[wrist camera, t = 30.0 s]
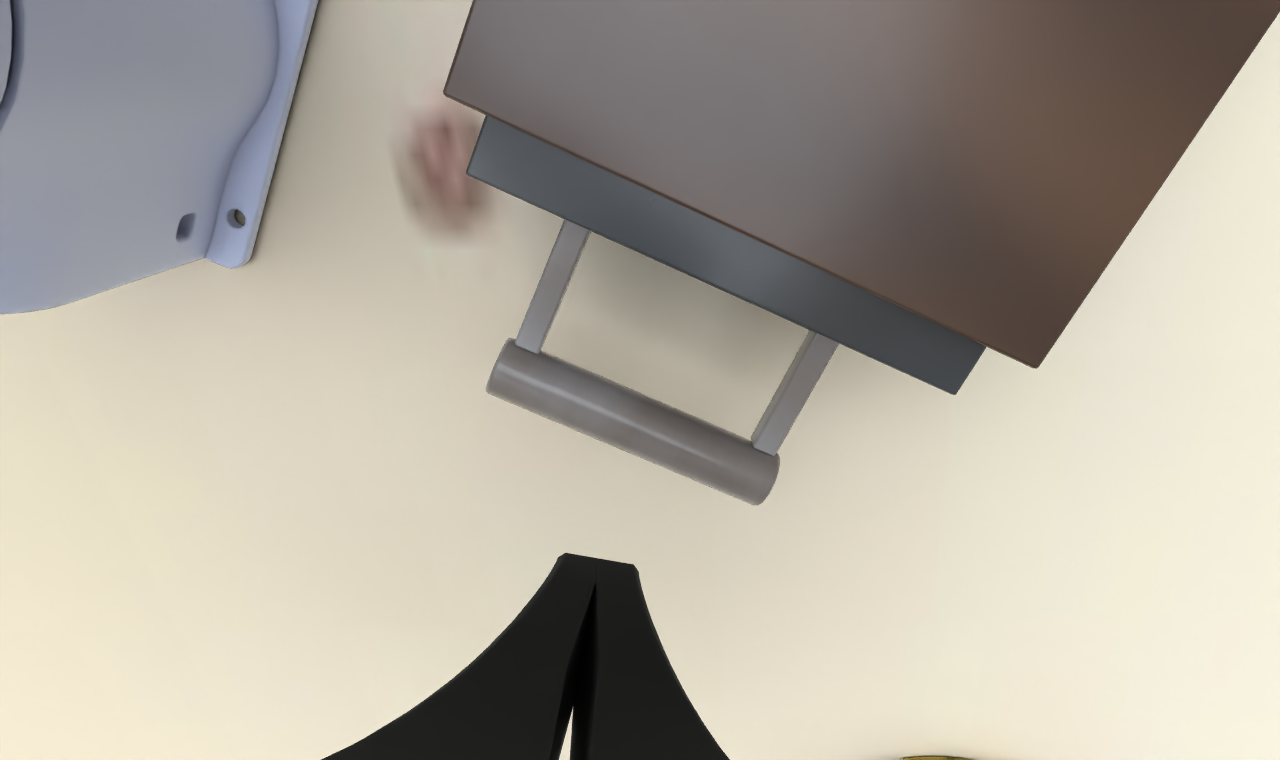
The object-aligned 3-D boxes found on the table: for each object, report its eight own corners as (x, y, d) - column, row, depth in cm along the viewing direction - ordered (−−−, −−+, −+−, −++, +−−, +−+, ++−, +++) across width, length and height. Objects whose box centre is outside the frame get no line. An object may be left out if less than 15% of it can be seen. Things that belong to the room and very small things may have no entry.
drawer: (787, 453, 23) (832, 588, 16) (467, 314, 22) (383, 402, 15) (1153, -183, 17) (1438, -350, 11) (743, -415, 16) (789, -753, 10)
